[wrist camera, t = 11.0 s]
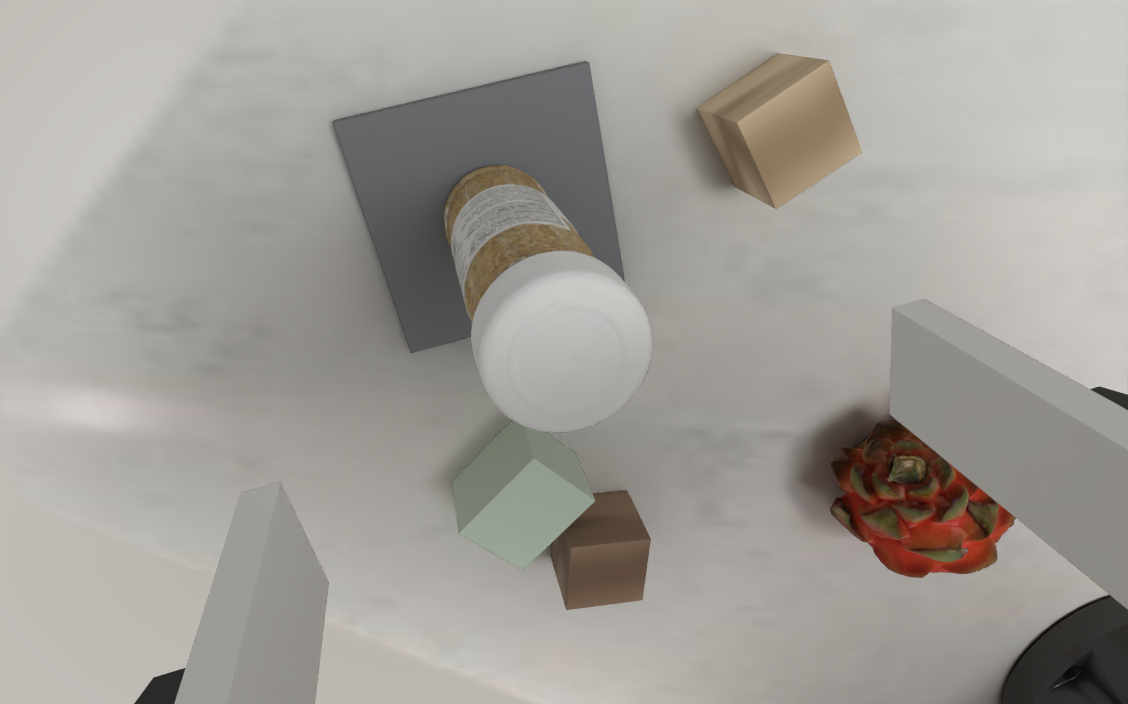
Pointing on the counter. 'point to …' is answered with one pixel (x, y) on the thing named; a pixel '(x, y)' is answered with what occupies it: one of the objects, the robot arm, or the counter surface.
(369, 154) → the slate mat
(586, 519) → the walnut block
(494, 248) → the sprinkles bottle
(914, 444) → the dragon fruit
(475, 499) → the sage painted block
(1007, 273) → the counter surface
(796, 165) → the oak block
